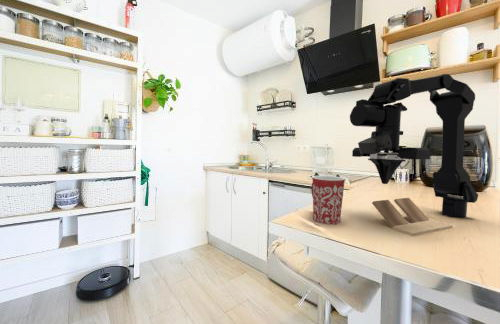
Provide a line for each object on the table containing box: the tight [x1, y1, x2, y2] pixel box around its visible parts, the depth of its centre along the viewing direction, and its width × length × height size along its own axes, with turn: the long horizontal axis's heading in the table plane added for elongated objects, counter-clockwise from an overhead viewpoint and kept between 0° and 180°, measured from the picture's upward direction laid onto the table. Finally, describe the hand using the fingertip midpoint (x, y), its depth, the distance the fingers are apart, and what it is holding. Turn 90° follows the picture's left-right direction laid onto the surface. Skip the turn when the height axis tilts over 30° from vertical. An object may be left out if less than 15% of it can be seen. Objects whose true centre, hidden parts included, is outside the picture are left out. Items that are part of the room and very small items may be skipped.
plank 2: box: [393, 197, 431, 223], centre depth 63 cm, size 6×8×1 cm
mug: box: [311, 175, 346, 227], centre depth 64 cm, size 13×9×14 cm
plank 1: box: [371, 199, 410, 229], centre depth 60 cm, size 6×8×1 cm
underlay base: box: [392, 219, 454, 237], centre depth 61 cm, size 16×14×2 cm
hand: (384, 183), depth 60 cm, fingers closed
